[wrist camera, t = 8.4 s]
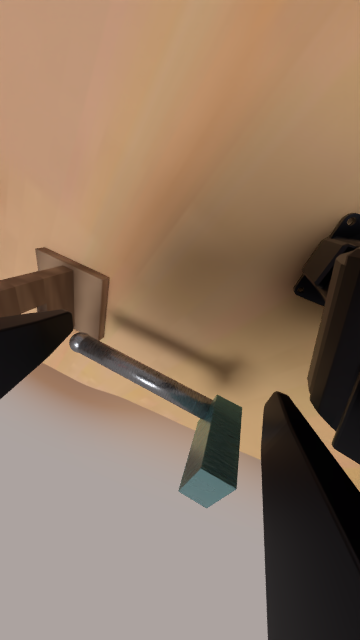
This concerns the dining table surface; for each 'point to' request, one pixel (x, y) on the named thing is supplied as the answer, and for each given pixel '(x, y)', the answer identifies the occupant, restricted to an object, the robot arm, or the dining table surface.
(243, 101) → the dining table surface
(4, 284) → the eye block
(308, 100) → the dining table surface
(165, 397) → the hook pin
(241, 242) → the dining table surface
